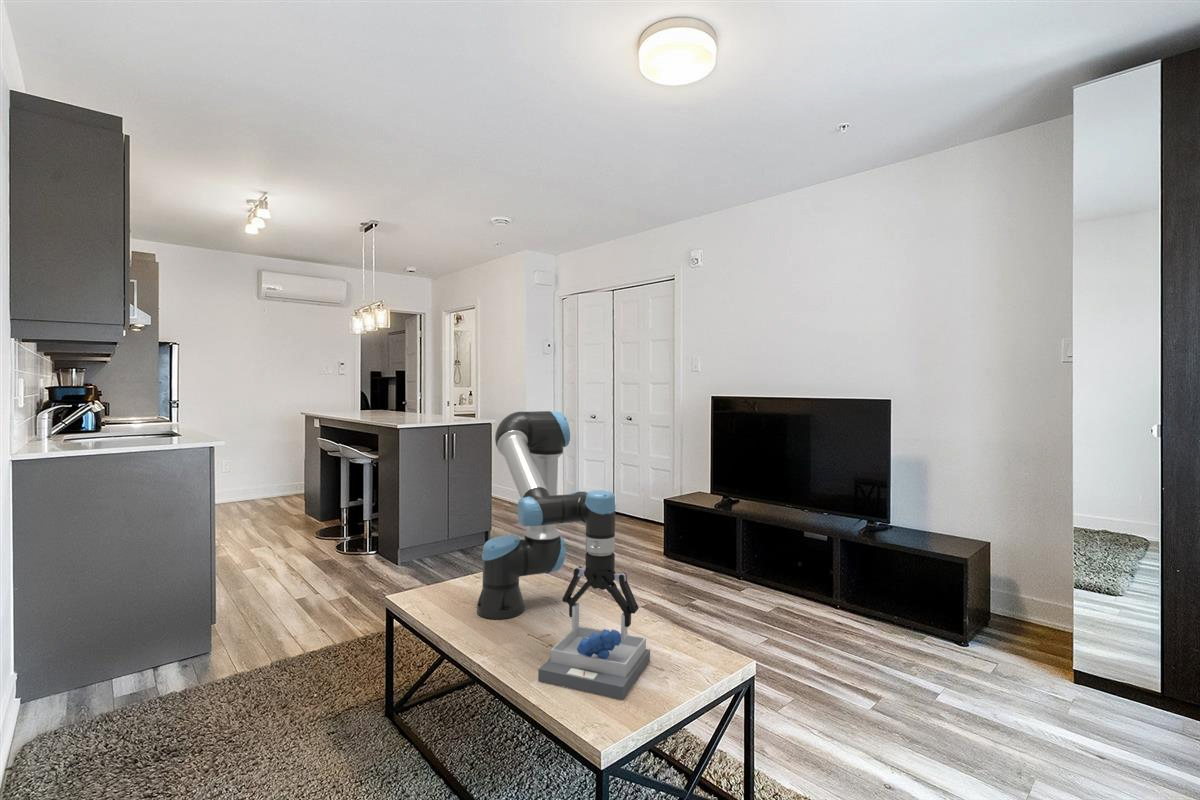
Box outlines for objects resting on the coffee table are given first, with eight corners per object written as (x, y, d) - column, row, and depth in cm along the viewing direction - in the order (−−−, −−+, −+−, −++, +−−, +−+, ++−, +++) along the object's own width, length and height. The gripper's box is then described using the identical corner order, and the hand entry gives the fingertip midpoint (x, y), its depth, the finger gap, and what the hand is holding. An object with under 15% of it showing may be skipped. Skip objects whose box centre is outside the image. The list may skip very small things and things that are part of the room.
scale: (538, 681, 141) (538, 656, 141) (574, 646, 160) (574, 624, 160) (622, 700, 132) (622, 673, 132) (650, 661, 152) (650, 638, 152)
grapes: (584, 675, 144) (581, 662, 135) (576, 648, 148) (572, 634, 139) (627, 658, 146) (627, 644, 137) (618, 633, 150) (617, 617, 141)
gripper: (550, 550, 149) (549, 631, 149) (641, 561, 139) (640, 648, 140) (562, 543, 156) (562, 620, 156) (651, 553, 146) (650, 636, 147)
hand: (599, 634), depth 148 cm, fingers open, 13 cm apart
